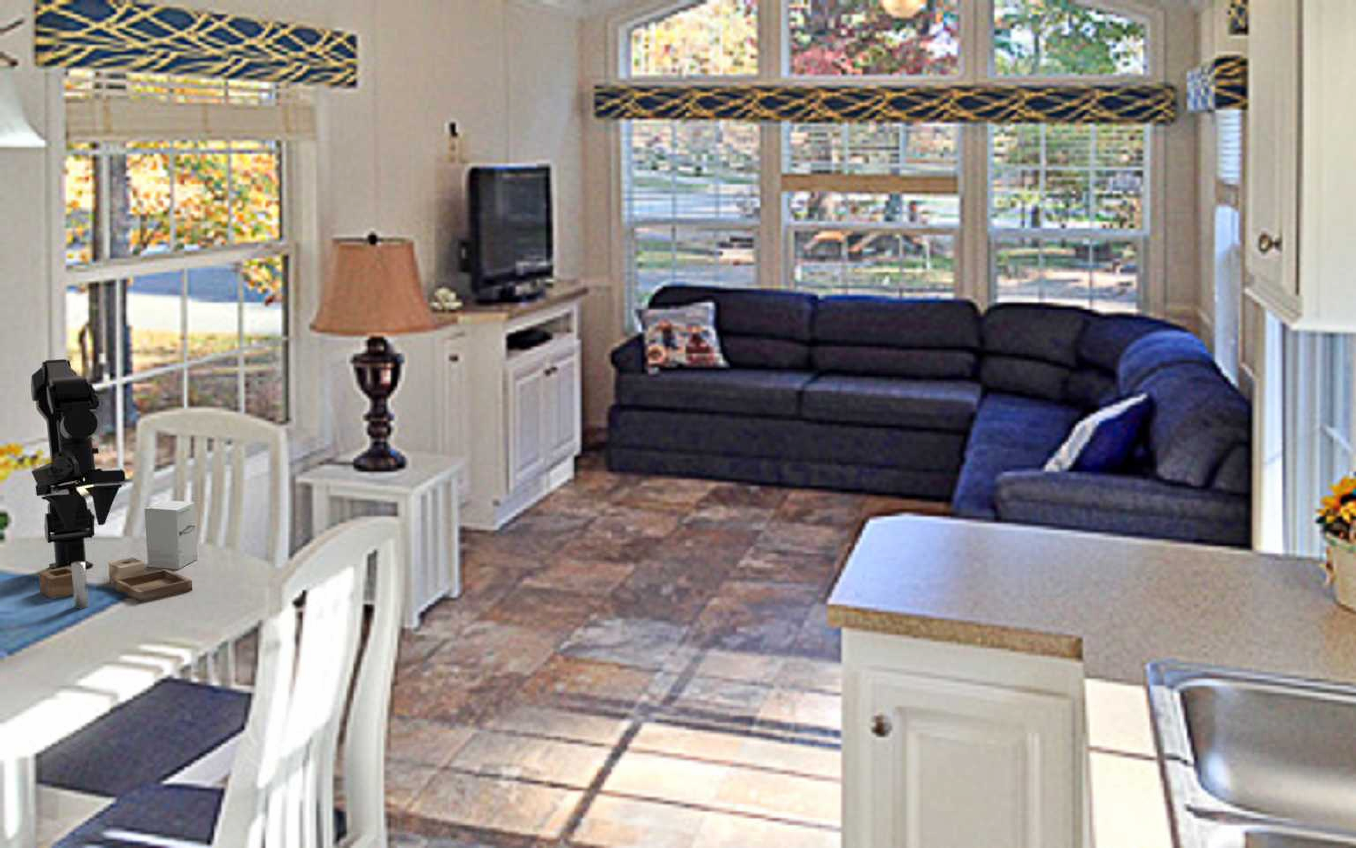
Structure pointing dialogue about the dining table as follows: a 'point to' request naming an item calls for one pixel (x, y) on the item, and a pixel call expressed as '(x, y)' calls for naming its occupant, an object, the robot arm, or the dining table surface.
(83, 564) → the cylinder
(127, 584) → the tray
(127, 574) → the maple block
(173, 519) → the supplement box
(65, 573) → the brown square socket
